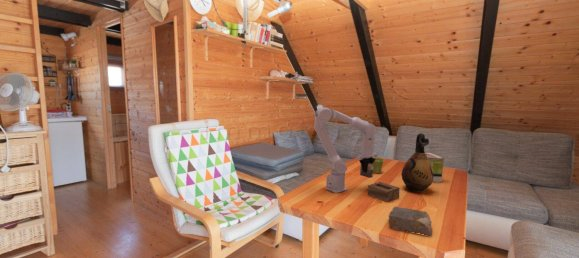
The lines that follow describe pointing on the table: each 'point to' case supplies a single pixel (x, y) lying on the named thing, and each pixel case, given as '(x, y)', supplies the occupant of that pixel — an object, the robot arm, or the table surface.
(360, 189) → the table surface
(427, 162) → the ceramic jug
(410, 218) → the geological specimen
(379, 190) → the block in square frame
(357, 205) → the table surface
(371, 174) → the rectangular block end
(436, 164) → the tea box
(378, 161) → the plant pot
